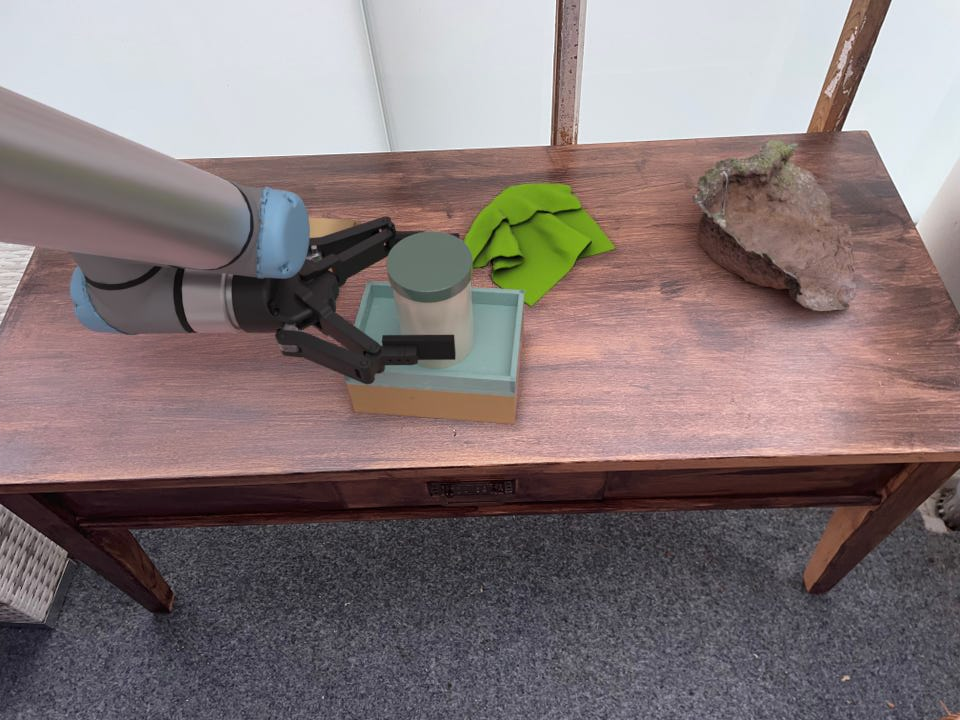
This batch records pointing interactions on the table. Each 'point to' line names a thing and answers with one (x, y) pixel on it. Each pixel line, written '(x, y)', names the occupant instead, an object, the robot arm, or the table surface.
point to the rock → (776, 228)
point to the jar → (434, 290)
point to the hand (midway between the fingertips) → (457, 293)
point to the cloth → (534, 237)
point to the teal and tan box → (459, 388)
